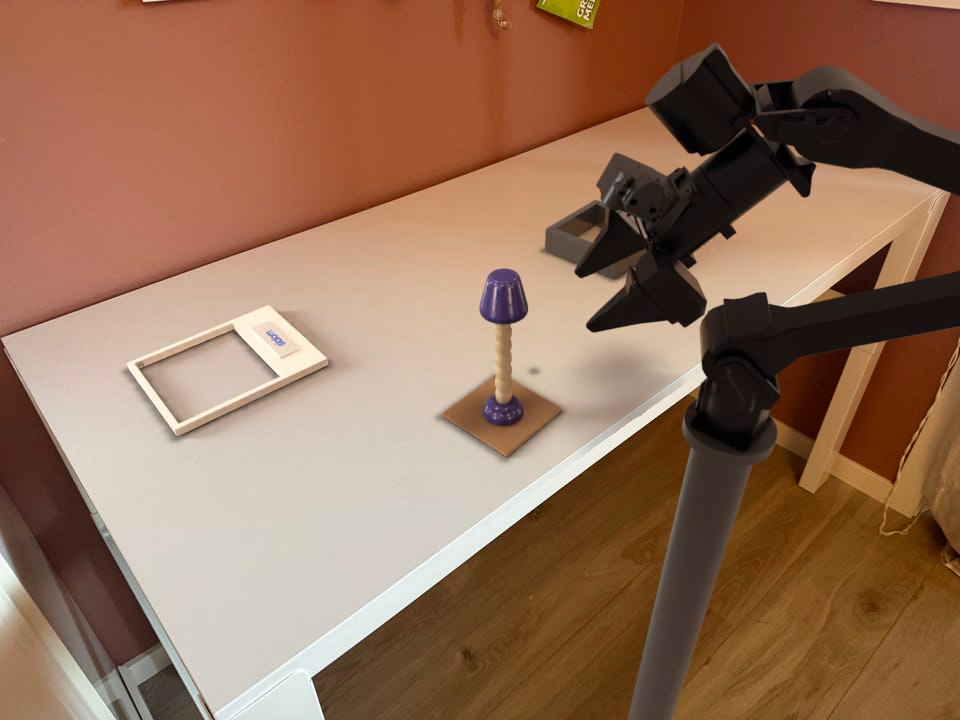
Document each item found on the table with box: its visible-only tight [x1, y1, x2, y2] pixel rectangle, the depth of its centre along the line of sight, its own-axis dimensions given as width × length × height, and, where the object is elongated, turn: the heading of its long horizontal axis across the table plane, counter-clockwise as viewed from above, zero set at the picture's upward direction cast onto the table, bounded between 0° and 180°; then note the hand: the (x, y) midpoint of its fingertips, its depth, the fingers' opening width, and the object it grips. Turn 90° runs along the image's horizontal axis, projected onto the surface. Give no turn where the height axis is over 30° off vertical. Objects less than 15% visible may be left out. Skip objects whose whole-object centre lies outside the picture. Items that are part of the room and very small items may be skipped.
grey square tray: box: [544, 199, 647, 280], centre depth 102 cm, size 12×12×4 cm
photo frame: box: [126, 304, 329, 437], centre depth 83 cm, size 15×1×18 cm
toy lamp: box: [478, 267, 529, 426], centre depth 71 cm, size 5×5×17 cm
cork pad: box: [442, 374, 563, 458], centre depth 76 cm, size 9×9×1 cm
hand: (582, 300), depth 68 cm, fingers open, 9 cm apart
